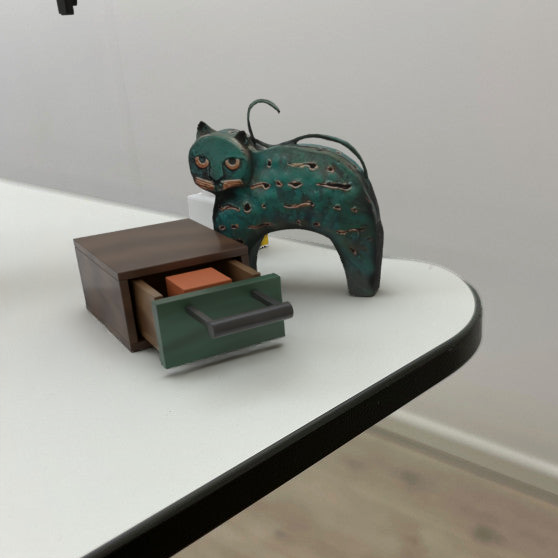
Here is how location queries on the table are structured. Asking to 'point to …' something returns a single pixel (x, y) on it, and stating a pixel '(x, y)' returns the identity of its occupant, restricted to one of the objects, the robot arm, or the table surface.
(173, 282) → the block
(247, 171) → the ceramic cat
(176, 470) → the table surface
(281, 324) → the drawer
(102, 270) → the cabinet
